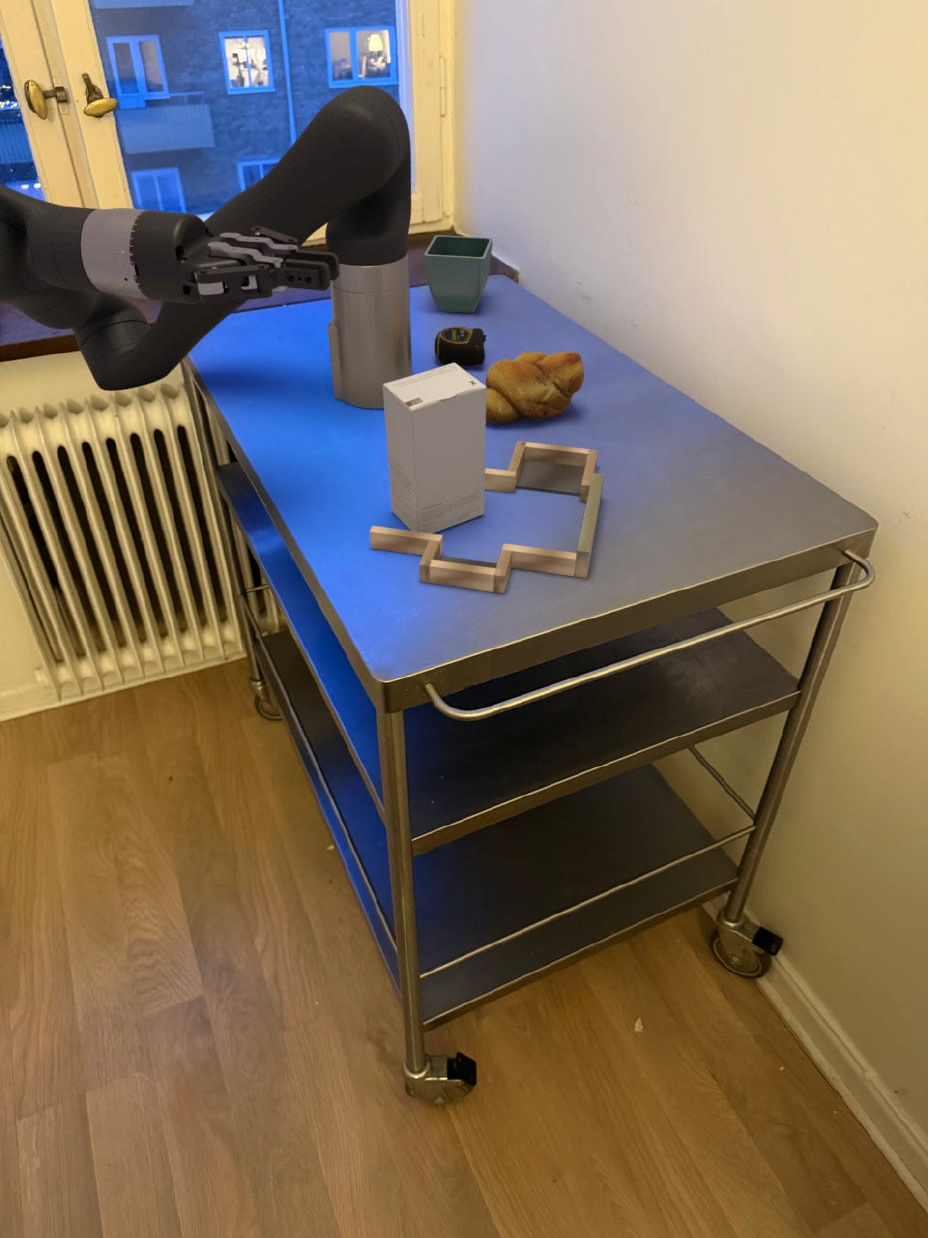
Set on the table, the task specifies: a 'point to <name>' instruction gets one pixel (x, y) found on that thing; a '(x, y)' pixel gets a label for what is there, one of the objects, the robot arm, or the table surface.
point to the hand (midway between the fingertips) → (332, 271)
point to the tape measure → (460, 346)
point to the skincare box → (436, 447)
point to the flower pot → (458, 271)
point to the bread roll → (532, 386)
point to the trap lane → (526, 471)
